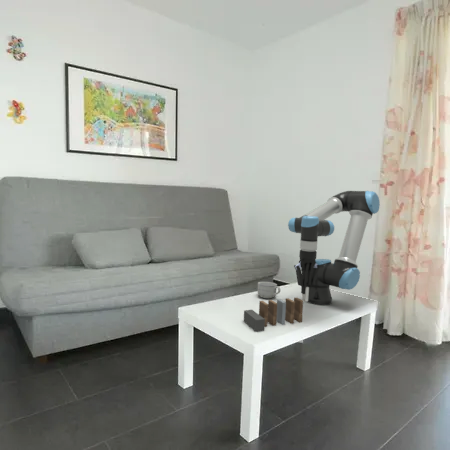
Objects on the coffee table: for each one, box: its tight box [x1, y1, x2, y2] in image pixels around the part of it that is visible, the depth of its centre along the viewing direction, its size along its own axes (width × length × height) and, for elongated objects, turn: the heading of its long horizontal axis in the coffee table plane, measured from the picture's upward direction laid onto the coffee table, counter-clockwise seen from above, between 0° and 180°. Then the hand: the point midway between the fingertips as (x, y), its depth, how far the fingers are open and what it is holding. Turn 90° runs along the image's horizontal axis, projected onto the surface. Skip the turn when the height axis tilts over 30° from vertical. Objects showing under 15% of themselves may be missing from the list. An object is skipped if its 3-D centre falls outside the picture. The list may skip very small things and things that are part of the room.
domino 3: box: [276, 298, 286, 326], centre depth 150 cm, size 2×5×10 cm, turn 22°
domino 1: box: [258, 300, 268, 328], centre depth 147 cm, size 2×5×10 cm, turn 22°
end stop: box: [243, 309, 266, 333], centre depth 146 cm, size 4×12×5 cm, turn 22°
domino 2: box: [267, 299, 277, 327], centre depth 149 cm, size 2×5×10 cm, turn 22°
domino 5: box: [293, 297, 304, 323], centre depth 154 cm, size 2×5×10 cm, turn 22°
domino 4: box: [285, 298, 295, 324], centre depth 152 cm, size 2×5×10 cm, turn 22°
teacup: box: [257, 281, 281, 300], centre depth 187 cm, size 14×11×8 cm
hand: (304, 300), depth 155 cm, fingers closed
